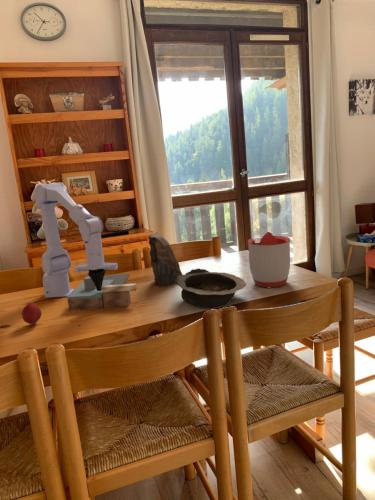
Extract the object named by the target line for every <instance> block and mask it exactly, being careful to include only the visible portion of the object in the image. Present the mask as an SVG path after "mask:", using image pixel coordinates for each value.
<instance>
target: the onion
mask: <svg viewBox="0 0 375 500" xmlns="http://www.w3.org/2000/svg"><path fill="white" fill-rule="evenodd" d="M41 317H42V309H41V308H40V307H39V306H38V305H36V304H34V303H33V301H32V300H30V301H28V302H27V304H26V305H25V306H24V308H23V309H22V311H21V318H22V319H23V321H24V322H25V323H27V324H30V325H36V324H37V323H38V321H39V320H40V319H41Z"/></svg>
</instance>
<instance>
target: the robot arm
mask: <svg viewBox="0 0 375 500" xmlns="http://www.w3.org/2000/svg"><path fill="white" fill-rule="evenodd" d="M34 197H35V202H36V206H37V207H39V209H40V214H41V215H40V216H41V220H42V225H43V231H44V236H45V237H44V238H45V242H46V243H45V244H46V247H47V250H45V252H44V253H43V254H42V255H41V261H42V262H41V265H42V266H41V267H42V270H43V272H44V274H43V276H42V285H43V292H44V296H43V297H44V298H46V299H48V298H62V297H63V298H65V297H68V296H69V295H70V294H71V293H72V292H73V291H74V290H75V289H74V288H71V284H70V279H69V271H70V268H71V267H72V260H71V257H70V255H69V251H68V250H66V249H64V248H63V247H62V243H61V237H60V232H59V227H58V225H59V224H58V221H57V216H56V215H57V214H56V210H55V209H56V206H57V204H60V205H62V207H64V208H65V209H66V210H67V211H68V216H69V218H70V219H71V220H72V221H73V222H74V223H75V224H76V225H77V226H78V231H79V234H80V235H81V239H82V241H83V242H84V248H85V257H86V261H87V263H86V264H80V265H76V266H74V270H75V272H76V273H80V272H88V273H87V276H89V277H90V278H91V279H92V281H93V282H94V284H95V286H96V289H97V291H101V290H102V289H101V287H102V283H103V278H104V275H106V270H107V271H108V270H114V271H115V270H118V268H119V266H118V262H105V257H104V249H103V243H102V234H101V233H102V232H103V230H104V223H103V221H102V219H101V218H100V217H99V216H94V215H92V214H91V213H90V212H89V211H88V210H87V209H86V208H85V207H84V206H83V205H82V204H77V203H76V202H75V201H74V199H72V197H71V196H70V195H69V194H68V188H67V186H66V185H65V184H64V182H61V181H59V182H53V183H43V184H42V183H39V184H37V185H36V186H35V189H34Z"/></svg>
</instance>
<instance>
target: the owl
mask: <svg viewBox="0 0 375 500" xmlns="http://www.w3.org/2000/svg"><path fill="white" fill-rule="evenodd" d="M147 238H148V242H147V243H148V244H149V247H150V248H149V249H150V251H149V256H150V266H151V268H152V273H153V275H154V286H158V287H160V288H165V287H168V286H170V285H173V284H176V283H175V281H174V278H176V277H177V276H178V275H184V274H183V273H182V271H181V268H180V264H179V261H178V260H177V258H176V255H175V253H174V250H173V248H172V247H171V244H170V242H169V241H168V239H166V238H165V237H164V236H163V235H161V234H160V233H159V232H158V231H156V232H155V233H151V234H149V235H148V237H147Z"/></svg>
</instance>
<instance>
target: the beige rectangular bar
mask: <svg viewBox="0 0 375 500" xmlns="http://www.w3.org/2000/svg"><path fill="white" fill-rule="evenodd" d="M101 289H102V293H105V292H122V291H130V292H136V291H137V289H138V288H137V283H124V284H119V285H103V286H102V287H101Z"/></svg>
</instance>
